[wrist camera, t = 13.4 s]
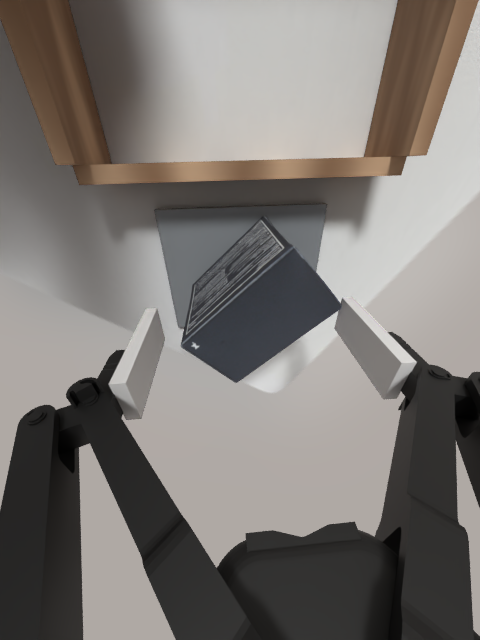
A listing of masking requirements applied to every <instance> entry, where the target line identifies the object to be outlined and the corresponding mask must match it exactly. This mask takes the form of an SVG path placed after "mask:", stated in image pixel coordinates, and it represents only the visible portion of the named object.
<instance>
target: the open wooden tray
mask: <svg viewBox="0 0 480 640" xmlns="http://www.w3.org/2000/svg"><path fill="white" fill-rule="evenodd" d="M477 3H478V0H398V4H397V8H396V13H395V18H394V22H393V27H392V31H391V36H390V41H389V45H388V50H387V54H386V59H385V63H384V68H383V73H382V77H381V82H380V86H379V91H378V96H377V100H376V105H375V109H374V114H373V118H372V123H371V128H370V132H369V137H368V141H367V146H366V151H365V155H364V157H361V158H324V159H286V160H249V161H211V162H173V163H136V164H112V163H111V159H110V155H109V151H108V148H107V144H106V140H105V136H104V133H103V129H102V125H101V121H100V118H99V114H98V110H97V107H96V103H95V99H94V95H93V92H92V88H91V84H90V80H89V77H88V73H87V69H86V65H85V62H84V58H83V54H82V50H81V47H80V43H79V39H78V36H77V32H76V28H75V24H74V21H73V17H72V13H71V9H70V6H69V2H68V0H0V19H1V22H2V24H3V27H4V30H5V32H6V35H7V37H8V40H9V43H10V45H11V48H12V51H13V53H14V56H15V59H16V61H17V64H18V67H19V69H20V72H21V75H22V77H23V80H24V83H25V85H26V88H27V90H28V93H29V96H30V98H31V101H32V104H33V106H34V109H35V112H36V114H37V117H38V120H39V122H40V125H41V128H42V130H43V133H44V136H45V138H46V141H47V143H48V146H49V149H50V151H51V154H52V157H53V159H54V162H55V165H73V168H74V171H75V174H76V177H77V180H78V183H79V185H94V184H127V183H160V182H193V181H226V180H259V179H293V178H326V177H359V176H392V175H401V174H402V171H403V167H404V164H405V161H406V157H407V156H420V155H427V152H428V149H429V146H430V143H431V140H432V137H433V134H434V131H435V128H436V125H437V122H438V119H439V116H440V113H441V110H442V107H443V104H444V101H445V98H446V95H447V92H448V89H449V86H450V83H451V81H452V78H453V75H454V72H455V69H456V66H457V63H458V60H459V57H460V54H461V51H462V48H463V45H464V42H465V39H466V36H467V33H468V30H469V27H470V24H471V21H472V18H473V15H474V12H475V9H476V6H477Z"/></svg>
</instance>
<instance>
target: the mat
mask: <svg viewBox="0 0 480 640" xmlns="http://www.w3.org/2000/svg"><path fill="white" fill-rule="evenodd" d="M326 208H327V204H325V203H322V204H294V205H265V206H237V207H208V208H180V209H156V210H155V215H156V220H157V225H158V230H159V235H160V240H161V245H162V250H163V255H164V259H165V264H166V269H167V274H168V279H169V284H170V289H171V294H172V299H173V304H174V309H175V314H176V318H177V323H178V327H185V322H186V317H187V312H188V309H189V303H190V299H191V291H192V284H194V283H195V282H196V281H197V280H198V279H199V278H200V277H201V276H202V275H203V274H204V273H205V272H206V271H207V270H208V269H209V268H210V267H211V266H212V265H213V264H214V263H215V262H216V261H217V260H218V259H219V258H220V257H221V256H222V255H223V254H224V253H225V252H226V251H227V250H228V249H229V248H230V247H231V246H232V245H233V244H235V243H236V241H237V240H239V239H240V238H241V237H242V236H243V235H244V234H245V233H246V232H247V231H248V230H249V229H250V228H251V227H252V226H253V225H254V224H255V223H256V222H257V221H258V220H259V219H260V218H261V217H262V216H266V217H267V218H268V219H269V220H270V221H271V223H272V224H273V225H274V226H275V228H276V229H277V230H278V231H279V232H280V233H281V234H282V235H283V236H284V237H285V239H286V240H287V241H288V242H289V243H291V244H292V245H293V246H295V247H296V248H297V249H298V250H299V252H300V253H301V254H302V256H303V257H304V258H305V259H306V260H307V262H308V263H309V264H310V265H311V266H312V268H313V269H314V270H315V271H316V269H317V263H318V257H319V251H320V245H321V239H322V232H323V226H324V220H325V214H326Z"/></svg>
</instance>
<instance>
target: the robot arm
mask: <svg viewBox="0 0 480 640" xmlns="http://www.w3.org/2000/svg"><path fill="white" fill-rule="evenodd" d="M341 305H342V308H341V309H340V310H339V312H338V316H337V320H336V324H335V330H336V331H337V333H338V334H339V336H340V337H341V339H342V340H343V341H344V343H345V344H346V346H347V347H348V349H349V350H350V352H351V353H352V355H353V356H354V357H355V359H356V360H357V362H358V363H359V365H360V366H361V368H362V369H363V370H364V372H365V373H366V375H367V376H368V378H369V379H370V380H371V382H372V384H373V385H374V386H375V388H376V389H377V391H378V392H379V393H380V395H381V397H382V398H383V399H395V398H397V397H398V395H399V393H400V391H402V393H403V394H404V395H405V398H404V400H403V402H402V404H401V405H400V407H399V409H398V410H401V415H400V420H399V426H398V431H397V437H396V442H395V447H394V453H393V459H392V464H391V470H390V475H389V481H388V486H387V491H386V497H385V502H384V508H383V513H382V518H381V522H380V525H379V527H378V530H377V531H376V535H375V537H374V536H372V535H370V534H368V533H365V532H363V531H360V530H358V529H357V526H356V524H355V522H349V523H340V524H330V525H327V526H325V527H323V528H321V529H319V530H317V531H315V532H313V533H311V534H309V535H307V536H305V537H299V536H294V535H290V534H286V533H282V532H277V531H263V532H254V533H246V540H245V541H243V542H241V543H239V544H238V545H237V546H235V547H234V548H233V549H231V550H230V552H228V554H227V555H226V556H225V557H224V558H223V559H222V561H221V562H220V564H219V566H218V567H217V568H216V567H215V565H214V564H213V562H212V561H211V559H210V557H209V556H208V554H207V553H206V551H205V549H204V548H203V546H202V545H201V543H200V541H199V540H198V538H197V537H196V535H195V534H194V532H193V530H192V529H191V527H190V526H189V524H188V523H187V521H186V520H185V519H184V518H183V516H182V515H181V513H180V512H179V510H178V508H177V507H176V505H175V504H174V502H173V500H172V499H171V497H170V495H169V494H168V492H167V491H166V489H165V487H164V486H163V485H162V483H161V481H160V479H159V478H158V476H157V475H156V473H155V472H154V470H153V468H152V467H151V465H150V463H149V462H148V460H147V459H146V457H145V455H144V454H143V452H142V451H141V449H140V447H139V446H138V444H137V443H136V441H135V439H134V438H133V437H132V435H131V433H130V431H129V430H128V428H127V427H126V425H125V424H124V422H123V420H122V419H121V417H122V415H123V414H124V416H125V418H126V420H131V419H141V418H142V414H143V411H144V408H145V404H146V401H147V398H148V394H149V391H150V388H151V384H152V381H153V377H154V374H155V371H156V368H157V364H158V361H159V358H160V354H161V351H162V348H163V344H164V341H165V337H164V333H163V329H162V325H161V321H160V318H159V314H158V310H157V308H149V309H145V311H144V313H143V315H142V317H141V319H140V321H139V323H138V325H137V327H136V330H135V332H134V334H133V336H132V338H131V340H130V342H129V344H128V346H127V348H126V350H116V351H115V352H114V353H113V354H112V355H111V356H110V357H109V359H108V360H107V362H106V365H105V366H104V368H103V371H101V373H100V375H99V377H98V378H97V379H96V378H92V377H91V378H84V379H82V380H79V381H78V382H76V383H74V384H73V385H72V386H71V387H70V388H69V389H68V391H67V393H66V397H67V399H68V400H69V402H70V403H71V405H70V406H67V407H64V408H61V409H58V410H55V408H54V407H52V406H51V405H43V406H39V407H37V408H35V409H32V410H31V411H30V412H28V413H27V414H25V415H24V416H23V418H22V419H21V420H20V422H19V424H18V428H17V432H16V437H15V442H14V447H13V452H12V457H11V461H10V466H9V471H8V476H7V481H6V485H5V490H4V495H3V500H2V505H1V510H0V640H83V615H82V613H83V610H82V571H81V570H82V569H81V527H80V526H81V525H80V482H79V447H81V446H83V445H86V444H89V443H90V444H91V446H92V449H93V451H94V453H95V455H96V458H97V460H98V462H99V464H100V466H101V469H102V471H103V473H104V475H105V477H106V479H107V482H108V484H109V486H110V488H111V490H112V493H113V495H114V497H115V499H116V501H117V504H118V506H119V508H120V510H121V512H122V514H123V517H124V519H125V521H126V523H127V525H128V528H129V530H130V532H131V534H132V537H133V539H134V541H135V543H136V545H137V548H138V550H139V552H140V554H141V557H142V560H143V565H144V569H145V571H146V574H147V576H148V578H149V581H150V583H151V585H152V587H153V590H154V592H155V594H156V596H157V599H158V601H159V603H160V605H161V607H162V610H163V612H164V614H165V616H166V619H167V621H168V623H169V625H170V627H171V630H172V632H173V634H174V636H175V638H176V640H480V636H479V635H478V634H477V633H476V632H475V631H474V630H473V616H472V599H471V598H472V597H471V578H470V559H469V541H468V535H467V532H466V530H465V528H464V527H462V526H461V525H459V522H458V518H457V517H458V516H457V477H456V441H457V445H458V447H459V450H460V453H461V456H462V458H463V462H464V465H465V467H466V470H467V473H468V476H469V479H470V482H471V484H472V487H473V490H474V493H475V496H476V499H477V501H478V504H479V507H480V372H473V373H472V374H471V375H470V376H469V378H461V377H455V376H452V375H451V374H450V373H449V372H448V371H446V370H445V369H443V368H441V367H438V366H435V365H429V364H428V363H427V362H425V360H423V358H422V357H420V356H419V355H418V354H417V353H416V352H415V351H414V350H413V349H411V347H410V346H409V345H408V344H406V342H405V341H404V340H403V339H402V338H401V337H399V336H398V335H396V334H394V333H393V332H387V331H386V330H385V329H384V328H383V327H382V326H381V325H380V324H379V323H378V322H377V321H376V320H375V319H374V318H373V317H372V316H371V315H370V314H369V313H368V312H367V311H366V310H365V309H364V308H363V307H362V306H361V305H360V304H359V303H358V302H357V301H356V300H355V299H354V298H353V297H342V301H341Z"/></svg>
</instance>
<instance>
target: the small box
mask: <svg viewBox="0 0 480 640" xmlns="http://www.w3.org/2000/svg"><path fill="white" fill-rule="evenodd" d="M341 308H342V305H341V304H340V302H339V301H338V299H337V298H336V297H335V295H334V294H333V293H332V292H331V290H330V289H329V288H328V286H327V285H326V284H325V282H324V281H323V280H322V279H321V278H320V277H319V275H318V274H317V273H316V271H315V270H314V269H313V268H312V266H311V265H310V264H309V263H308V262H307V260H306V259H305V258H304V257H303V256H302V254H301V253H300V252H299V250H298V249H297V248H296V247H295V246H293V245H292V244H291V243H289V242H288V241H287V240H286V239H285V237H284V236H283V235H282V234H281V233H280V232H279V231H278V230H277V229H276V228H275V226H274V225H273V224H272V223H271V221H270V220H269V219H268V218H267V217H266V216H262V217H261V218H260V219H259V220H258V221H257V222H256V223H255V224H254V225H253V226H252V227H251V228H250V229H249V230H248V231H247V232H246V233H245V234H244V235H243V236H242V237H241V238H240V239H239V240H237V241H236V243H235V244H233V245H232V246H231V247H230V248H229V249H228V250H227V251H226V252H225V253H224V254H223V255H222V256H221V257H220V258H219V259H218V260H217V261H216V262H215V263H214V264H213V265H212V266H211V267H210V268H209V269H208V270H207V271H206V272H205V273H204V274H203V275H202V276H201V277H200V278H199V279H198V280H197V281H196V282H195V283H194V284H192V291H191V299H190V303H189V309H188V312H187V317H186V322H185V327H184V332H183V338H182V342H181V347H182V348H183V349H185V350H186V351H188V352H189V353H191V354H193V355H194V356H196V357H197V358H199V359H200V360H201V361H203V362H205V363H206V364H208V365H209V366H211V367H212V368H214V369H215V370H217V371H218V372H220V373H221V374H223V375H224V376H226V377H227V378H229V379H230V380H232V381H233V382H236V383H237V382H238V381H240V380H241V379H243V378H244V377H246V376H247V375H248V374H250V373H251V372H253V371H254V370H255V369H257V368H258V367H259V366H261V365H262V364H264V363H265V362H266V361H268V360H269V359H271V358H272V357H273V356H275V355H276V354H278V353H279V352H280V351H282V350H283V349H285V348H286V347H287V346H289V345H290V344H292V343H293V342H294V341H296V340H297V339H299V338H300V337H301V336H303V335H304V334H306V333H307V332H308V331H310V330H311V329H313V328H314V327H315V326H317V325H318V324H320V323H321V322H323V321H324V320H325V319H327V318H328V317H330V316H331V315H333V314H334V313H335V312H337V311H338V310H340V309H341Z"/></svg>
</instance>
